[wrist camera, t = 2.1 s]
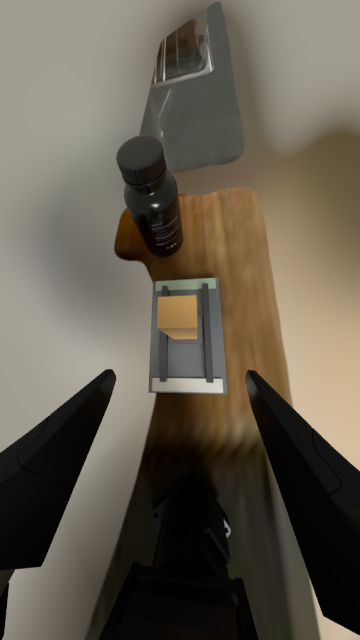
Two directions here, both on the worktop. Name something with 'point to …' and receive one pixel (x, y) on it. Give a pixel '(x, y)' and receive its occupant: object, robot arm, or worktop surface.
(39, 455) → the robot arm
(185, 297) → the handle
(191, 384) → the grey rail base
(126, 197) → the supplement bottle
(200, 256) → the worktop surface
